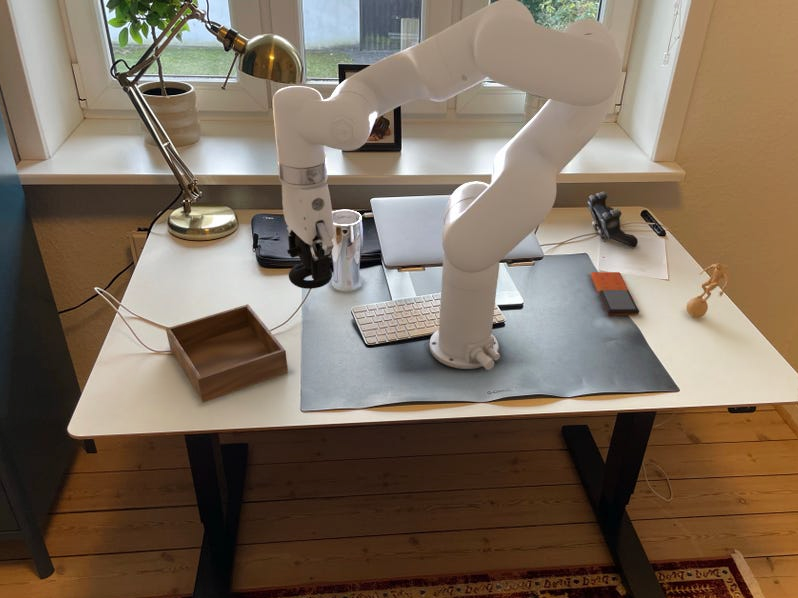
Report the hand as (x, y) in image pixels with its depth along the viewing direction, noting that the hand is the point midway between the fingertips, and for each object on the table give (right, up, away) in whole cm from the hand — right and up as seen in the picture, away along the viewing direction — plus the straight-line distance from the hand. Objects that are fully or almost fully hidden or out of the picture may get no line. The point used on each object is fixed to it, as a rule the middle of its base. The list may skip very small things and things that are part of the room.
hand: (309, 265), depth 128 cm
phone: (+58, -3, +25) cm, 63 cm away
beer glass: (+4, -1, +24) cm, 24 cm away
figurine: (+74, -7, +20) cm, 77 cm away
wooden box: (-15, -17, +3) cm, 22 cm away
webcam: (0, -2, +2) cm, 3 cm away
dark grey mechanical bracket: (+62, +13, +46) cm, 78 cm away
